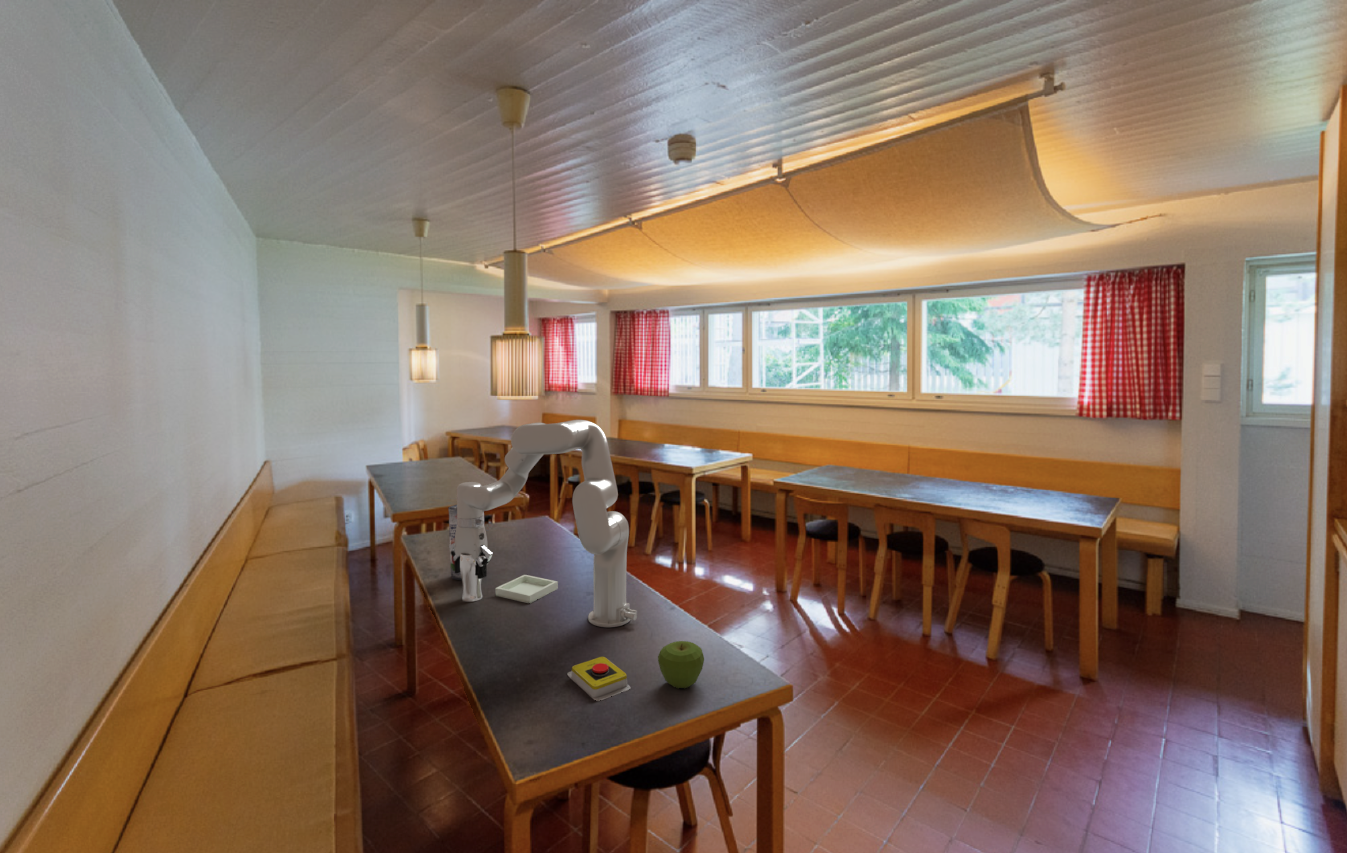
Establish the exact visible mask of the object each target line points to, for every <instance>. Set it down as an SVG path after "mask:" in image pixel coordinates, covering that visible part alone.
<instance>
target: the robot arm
mask: <svg viewBox="0 0 1347 853" xmlns="http://www.w3.org/2000/svg"><path fill="white" fill-rule="evenodd" d="M510 443H511V449H510V450H509V451H508V452H507V453H506V454H505V455H504V456H505V457H504V463H505V465H506V466H507V468H508V469H507V470H506V471H505V473H504V474H503V475H502V476H501V477H500V479H499V480H497V481H495V482H492V483H489V484H485V485H482V484H481V483H480V482H478V481H465V482H462V483H459V484H458V485H457V487H456V502H457V503H456V504H457V527H456V532H455V543H453V544H451V545H450V544H449V545H448V548H449V552H450V551H451V555H452V556H453V560H454V561H455V573H459V572H460V553H461V554H463V555H472V559H474V560H476V561H477V562H478V564H479V566H478V579H481V578H482V579H483V578H486V577H487V576H488V573H487V572H488V571H487V570H488V569H487V566H488V565H489V563H490V562H491V559H492V557H493V552H492V551H491V550H490V549H489V548H488V537H487V532H486V527H485V520H484V521H483V511H484V512H485V511H486V512H487V511H490V510H493V509H495V508H498V507H501V506H504V505H506V504H508V503H510V502H511V501H512V500H513V499H514V498H515V497H516V496H517V495H518V493H519V492H520V491H521V490H522V489H523V488H524V486H525V485H526V482H527V480H528V477H529V473H530V471H531V470H532V469H533V468H534V466H536V465H537V463H538V462H539V461H540V459H541V458H542V457H543V456H544V455H553V454H554V455H555V454H556V455H557V454H564V453H565V454H566V453H569V452H573V451H576V450H581V468H582V473H583V478H584V481H582V482H580V483H579V484H578V485H577V486H576V487H575V489H574V491H573V494H572V507H573V513H574V519H575V524H576V528H577V533H578V537H579V538H578V539H579V541H580V543H581V545H582V548H584V549H585V551H587V552H588V553H590V554H591V555H593V569H592V570H593V571H592V572H593V574H592V575H593V610H592V611H590V612H589V613H588V616H587V618H588V619H587V620H588V622H589V623H590V624H591V625H593V626H597V627H601V628H617V627H621V626H623V625H624V626H625V625H627V624H629V622H630V621H631V620H632V621H636V620H637V618H638V617H637V616H638V610H636V609H631V608H630V606H631V604H630V602H627V554H628V553H627V552H628V545H629V544H628V542H629V536H630V535H629V534H630V527H629V522H628V520H627V518H626V517H625V516H624V515H623V514H622V513H621V512H618V511H615V510H614V511H613V510H612V511H610V510H609V511H608V510H607V509H608V508H610V507H612V506H613V505H614V504H615V503H616V501H617V500H618V496H619V494H618V491H619V490H618V486H617V481H616V477H615V473H614V467H613V462H612V459H611V452H610V448H609V442H608V439H607V436H606V433H605V432H604V430H603V429H602V428H601V427H600V426H599V425H598V424H596V423H594V422H592V421H589V420H585V419H573V420H572V419H571V420H567V421H563V422H557V423H556V422H555V423H544V422H532V423H527V424H522V425H519V426H518V427H517V428H515V429H514V430H513V432H512V434H511V438H510ZM483 524H484V526H483ZM480 553H481V556H479V555H480ZM481 558H482V560H483V561H481ZM482 579H481V580H482Z"/></svg>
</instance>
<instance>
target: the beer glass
mask: <svg viewBox="0 0 1347 853" xmlns="http://www.w3.org/2000/svg"><path fill="white" fill-rule="evenodd" d="M479 556H481V553H480V555H479ZM481 561H483V560H482V558H481ZM478 566H479V564H478V562H477V561H476V560H474V559H472V555H463V554H461V553H460V573H461V578H462V580H461V582H462V590H463V591H462V596H461V597H462V598H461V600H462V602H467V603H474V602H478V601H479V600H481V599H483V593H482V580H483V578H481V579H478Z"/></svg>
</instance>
